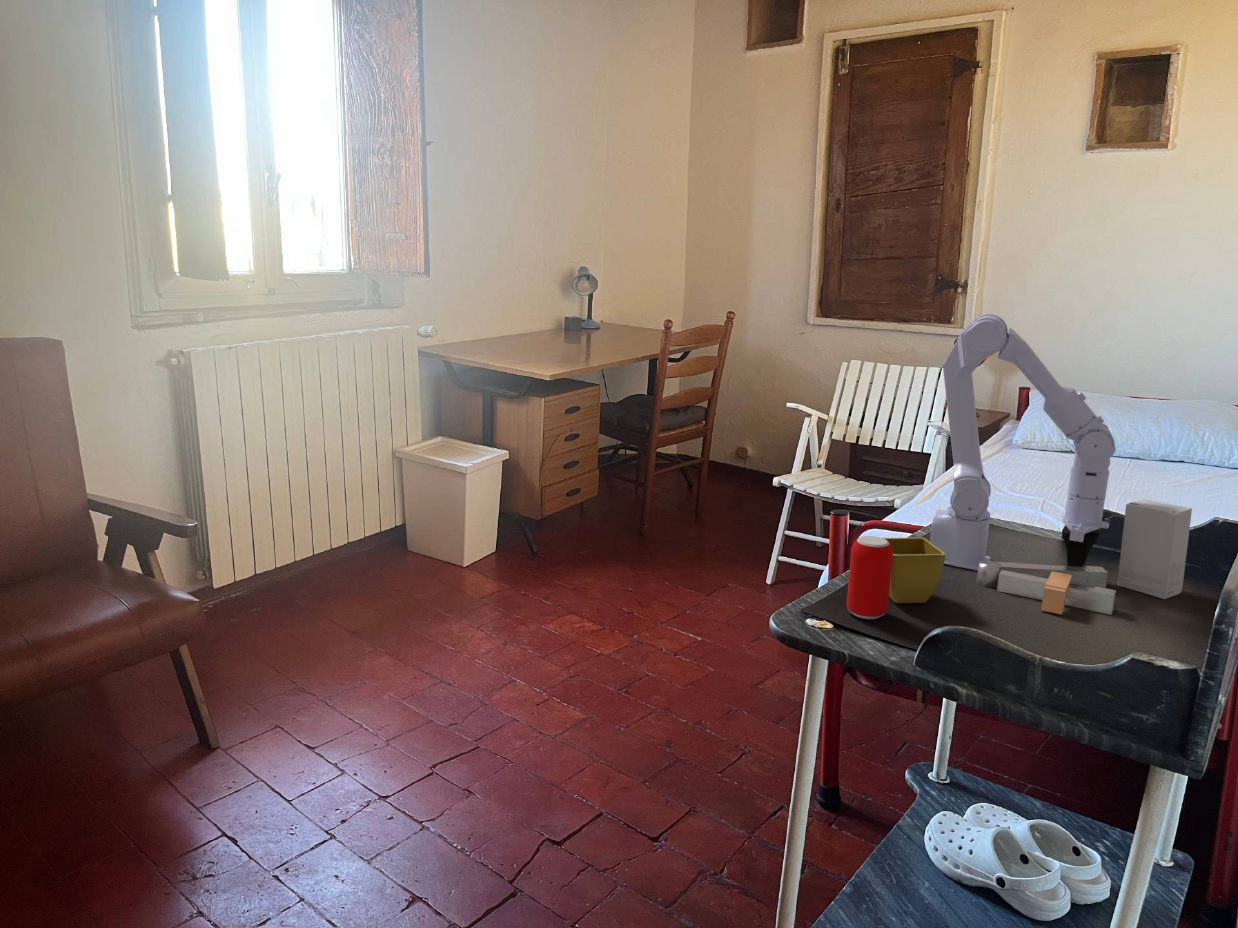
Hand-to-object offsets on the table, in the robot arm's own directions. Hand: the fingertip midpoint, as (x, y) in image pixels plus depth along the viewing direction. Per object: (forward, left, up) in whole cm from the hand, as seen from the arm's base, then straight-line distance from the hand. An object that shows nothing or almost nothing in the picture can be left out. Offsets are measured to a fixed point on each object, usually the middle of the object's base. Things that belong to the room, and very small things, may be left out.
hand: (1075, 570), depth 158 cm
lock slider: (-1, -16, -1) cm, 16 cm away
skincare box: (+11, +1, -2) cm, 11 cm away
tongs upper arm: (-4, -8, -1) cm, 9 cm away
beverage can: (-25, -37, -2) cm, 44 cm away
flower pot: (-22, -27, -2) cm, 35 cm away
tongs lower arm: (-2, -13, -1) cm, 13 cm away
